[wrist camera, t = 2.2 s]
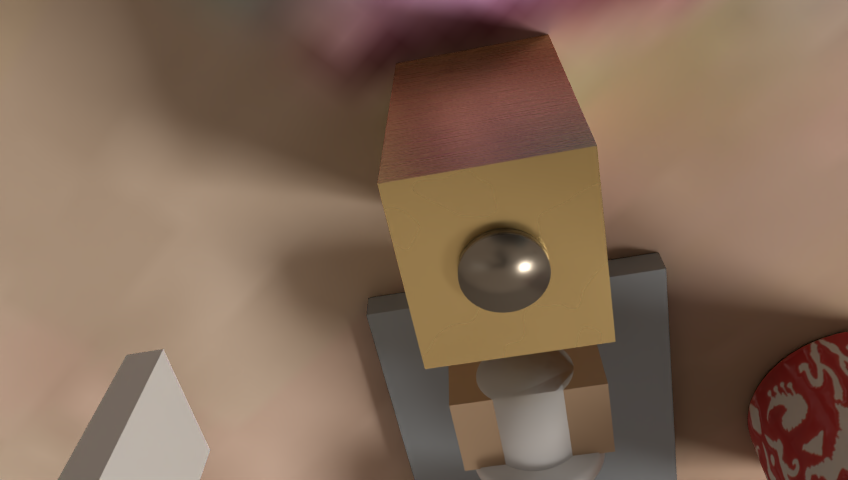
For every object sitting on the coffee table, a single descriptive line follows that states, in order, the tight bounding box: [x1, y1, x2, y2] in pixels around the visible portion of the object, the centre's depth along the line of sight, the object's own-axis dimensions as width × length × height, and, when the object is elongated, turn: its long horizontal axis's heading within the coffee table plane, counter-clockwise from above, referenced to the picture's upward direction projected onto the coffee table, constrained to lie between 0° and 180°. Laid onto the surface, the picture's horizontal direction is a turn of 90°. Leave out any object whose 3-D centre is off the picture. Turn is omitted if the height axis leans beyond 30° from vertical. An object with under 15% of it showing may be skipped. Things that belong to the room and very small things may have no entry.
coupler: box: [377, 35, 616, 369], centre depth 20 cm, size 5×4×8 cm
